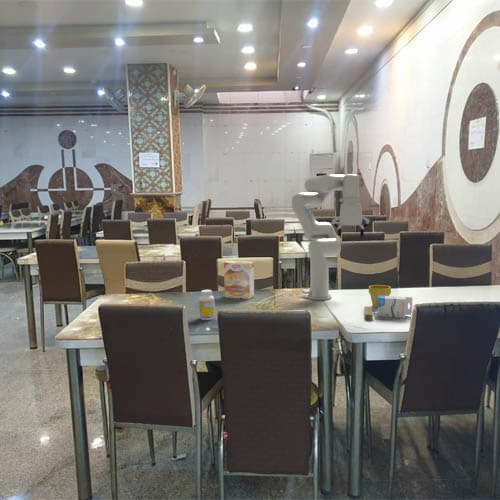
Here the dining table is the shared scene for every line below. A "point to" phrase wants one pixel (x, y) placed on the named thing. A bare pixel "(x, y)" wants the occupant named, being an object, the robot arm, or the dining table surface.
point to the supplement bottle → (207, 305)
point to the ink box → (394, 306)
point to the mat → (385, 317)
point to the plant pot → (378, 293)
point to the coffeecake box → (239, 279)
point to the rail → (368, 313)
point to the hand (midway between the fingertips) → (350, 237)
